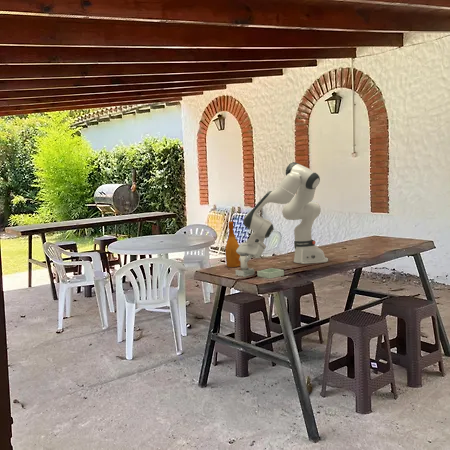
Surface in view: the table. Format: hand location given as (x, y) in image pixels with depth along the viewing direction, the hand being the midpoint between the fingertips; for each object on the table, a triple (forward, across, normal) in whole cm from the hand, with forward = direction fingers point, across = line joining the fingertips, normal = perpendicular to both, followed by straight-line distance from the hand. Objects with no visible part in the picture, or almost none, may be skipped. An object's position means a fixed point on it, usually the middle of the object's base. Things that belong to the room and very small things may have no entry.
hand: (242, 261), depth 307 cm
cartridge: (+3, 0, +4) cm, 5 cm away
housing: (+6, +1, +6) cm, 9 cm away
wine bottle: (-3, -28, +16) cm, 32 cm away
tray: (0, +16, +11) cm, 19 cm away
